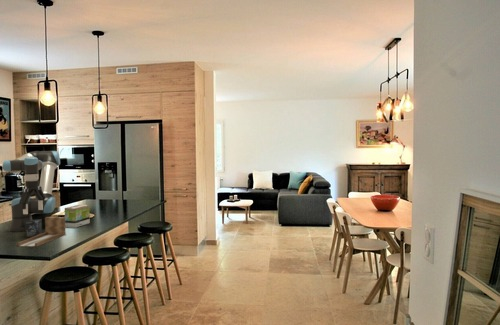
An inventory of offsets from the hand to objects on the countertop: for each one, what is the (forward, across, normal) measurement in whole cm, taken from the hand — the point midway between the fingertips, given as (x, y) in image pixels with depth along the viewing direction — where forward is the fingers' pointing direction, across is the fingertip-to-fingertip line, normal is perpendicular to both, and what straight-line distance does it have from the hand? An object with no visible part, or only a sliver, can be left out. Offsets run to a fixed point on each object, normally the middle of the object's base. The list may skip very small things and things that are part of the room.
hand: (33, 211), depth 215 cm
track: (+16, -10, -13) cm, 23 cm away
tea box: (+16, +29, -12) cm, 35 cm away
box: (+16, 0, 0) cm, 17 cm away
